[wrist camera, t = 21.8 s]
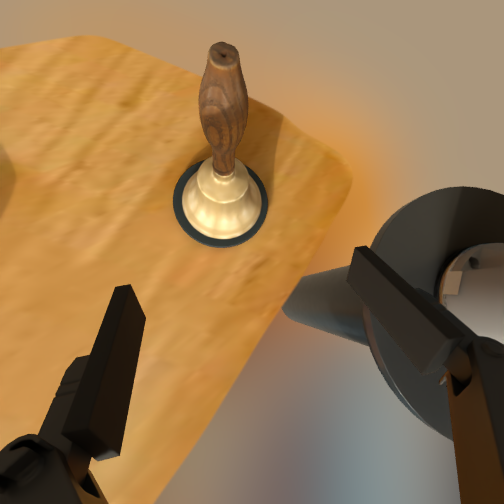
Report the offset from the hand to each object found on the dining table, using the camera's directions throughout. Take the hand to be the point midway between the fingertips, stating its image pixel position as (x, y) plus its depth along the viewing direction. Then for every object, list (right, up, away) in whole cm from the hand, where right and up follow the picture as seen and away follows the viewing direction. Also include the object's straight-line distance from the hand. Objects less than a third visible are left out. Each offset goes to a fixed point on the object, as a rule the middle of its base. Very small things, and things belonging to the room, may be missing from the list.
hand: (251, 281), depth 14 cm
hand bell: (-3, +7, +11) cm, 14 cm away
